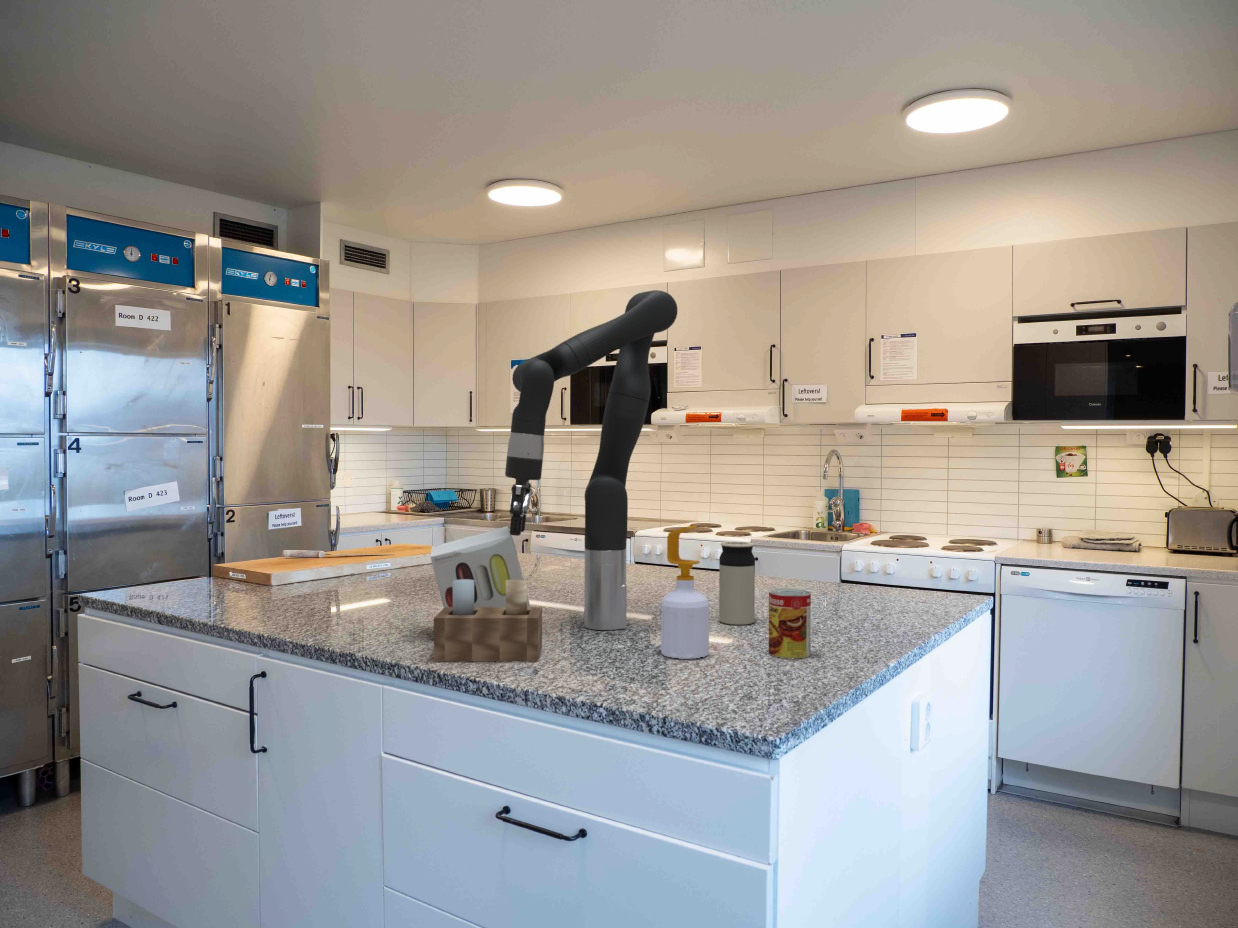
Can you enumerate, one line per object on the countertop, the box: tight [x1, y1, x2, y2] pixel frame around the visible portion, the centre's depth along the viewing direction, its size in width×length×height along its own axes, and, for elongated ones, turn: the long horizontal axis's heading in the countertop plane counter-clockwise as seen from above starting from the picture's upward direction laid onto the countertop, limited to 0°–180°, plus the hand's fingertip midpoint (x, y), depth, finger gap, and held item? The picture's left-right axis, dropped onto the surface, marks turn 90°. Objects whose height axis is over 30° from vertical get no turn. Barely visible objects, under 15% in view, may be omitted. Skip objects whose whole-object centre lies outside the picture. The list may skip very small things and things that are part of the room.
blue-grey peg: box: [453, 579, 474, 615], centre depth 158 cm, size 4×4×8 cm
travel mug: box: [718, 541, 756, 626], centre depth 191 cm, size 8×8×18 cm
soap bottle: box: [660, 525, 710, 660], centre depth 159 cm, size 9×9×25 cm
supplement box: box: [430, 525, 531, 609], centre depth 176 cm, size 17×13×18 cm
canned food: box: [768, 587, 812, 659], centre depth 160 cm, size 8×8×12 cm
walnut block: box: [433, 606, 543, 663], centre depth 159 cm, size 19×11×8 cm, turn 91°
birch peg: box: [506, 578, 528, 615], centre depth 159 cm, size 4×4×8 cm
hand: (517, 533), depth 175 cm, fingers open, 8 cm apart
